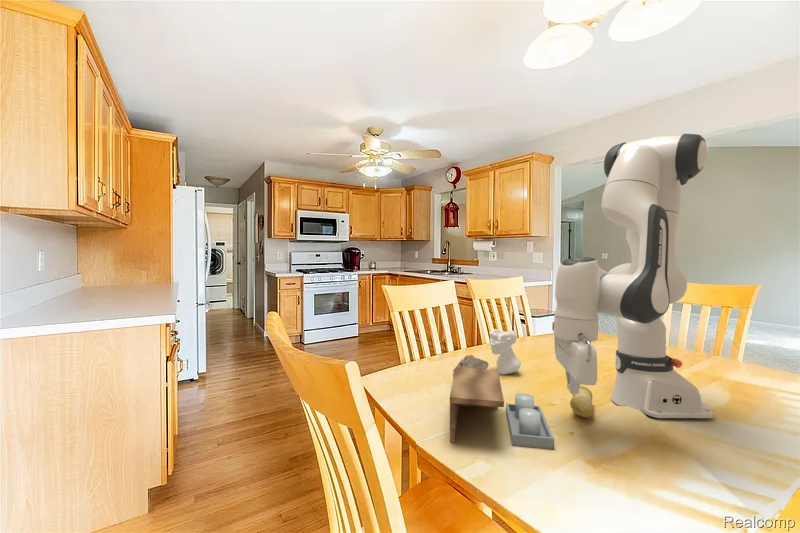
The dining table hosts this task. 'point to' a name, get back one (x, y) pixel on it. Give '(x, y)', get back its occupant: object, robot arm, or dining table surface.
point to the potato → (582, 402)
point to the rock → (471, 363)
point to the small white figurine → (504, 351)
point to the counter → (473, 392)
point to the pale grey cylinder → (523, 402)
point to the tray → (529, 440)
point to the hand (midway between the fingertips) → (572, 391)
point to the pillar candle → (529, 422)
